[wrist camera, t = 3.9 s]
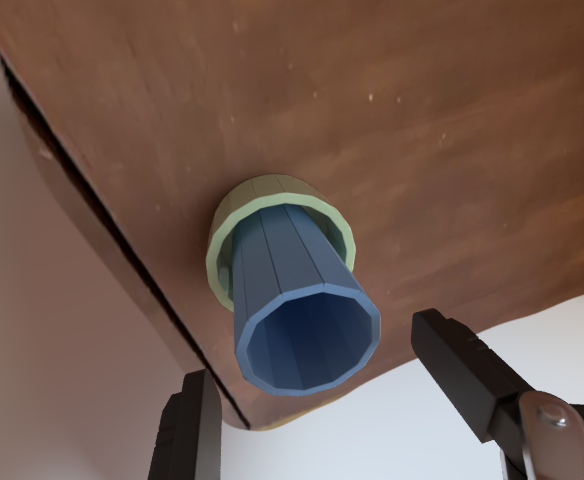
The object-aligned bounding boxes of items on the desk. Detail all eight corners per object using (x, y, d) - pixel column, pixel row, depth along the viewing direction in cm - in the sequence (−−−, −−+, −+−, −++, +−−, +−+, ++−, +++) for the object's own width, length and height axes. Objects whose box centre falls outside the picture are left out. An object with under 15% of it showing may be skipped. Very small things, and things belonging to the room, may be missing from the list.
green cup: (197, 272, 20) (189, 313, 16) (231, 153, 17) (232, 169, 13) (304, 294, 23) (320, 333, 19) (350, 196, 20) (380, 218, 16)
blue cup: (223, 263, 20) (218, 391, 11) (247, 187, 18) (266, 269, 9) (296, 279, 22) (343, 399, 13) (326, 212, 20) (405, 300, 11)
